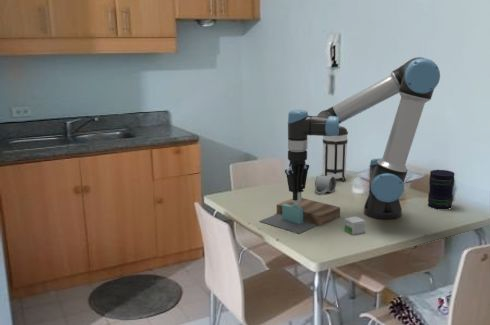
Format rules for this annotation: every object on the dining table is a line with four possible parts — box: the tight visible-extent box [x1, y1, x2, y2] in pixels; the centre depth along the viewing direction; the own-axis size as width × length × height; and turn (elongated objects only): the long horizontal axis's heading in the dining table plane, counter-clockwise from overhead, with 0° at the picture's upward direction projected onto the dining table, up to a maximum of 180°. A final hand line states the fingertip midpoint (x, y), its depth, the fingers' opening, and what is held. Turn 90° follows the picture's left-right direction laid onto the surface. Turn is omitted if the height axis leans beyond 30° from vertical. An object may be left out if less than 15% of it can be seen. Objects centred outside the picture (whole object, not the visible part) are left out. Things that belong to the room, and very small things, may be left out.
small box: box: [343, 215, 366, 236], centre depth 192 cm, size 6×6×5 cm
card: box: [282, 204, 303, 224], centre depth 202 cm, size 9×6×2 cm
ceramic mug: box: [314, 175, 337, 195], centre depth 241 cm, size 11×8×8 cm
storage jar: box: [427, 169, 455, 210], centre depth 217 cm, size 10×10×15 cm
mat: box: [258, 213, 319, 235], centre depth 201 cm, size 20×12×1 cm, turn 47°
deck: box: [276, 197, 341, 227], centre depth 210 cm, size 22×14×4 cm, turn 47°
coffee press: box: [322, 125, 349, 183], centre depth 259 cm, size 17×16×30 cm
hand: (296, 207), depth 204 cm, fingers closed
